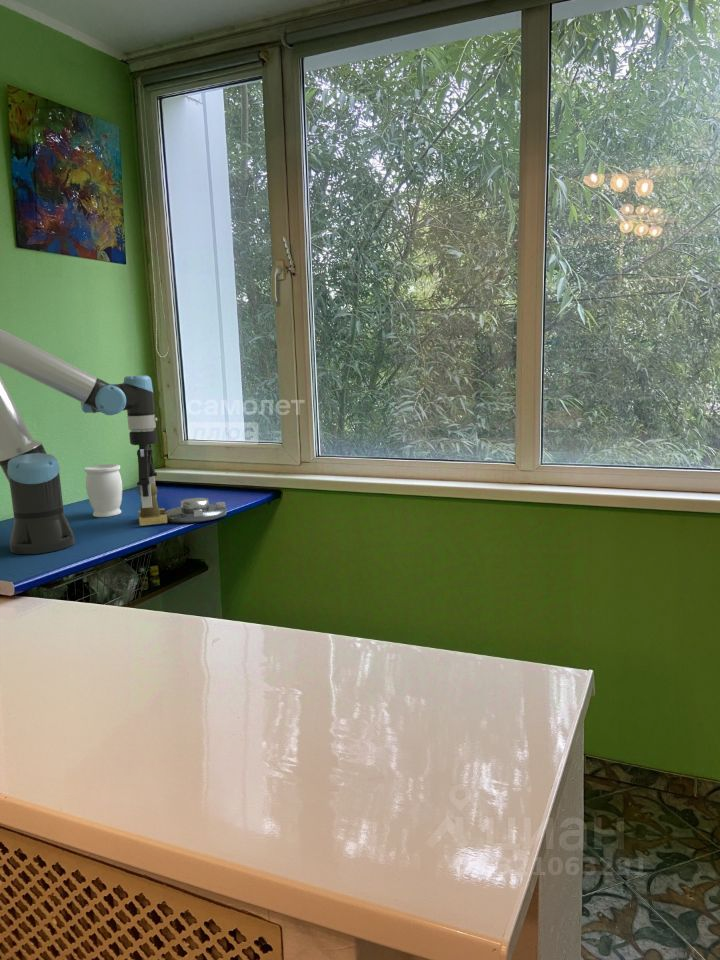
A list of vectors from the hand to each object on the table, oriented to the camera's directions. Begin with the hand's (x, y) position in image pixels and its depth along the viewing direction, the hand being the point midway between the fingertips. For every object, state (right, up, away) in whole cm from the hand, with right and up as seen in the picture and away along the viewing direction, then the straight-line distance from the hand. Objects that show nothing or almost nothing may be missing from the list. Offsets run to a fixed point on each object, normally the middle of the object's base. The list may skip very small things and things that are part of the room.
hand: (149, 502), depth 205 cm
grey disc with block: (+9, -4, +2) cm, 10 cm away
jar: (-17, -4, +12) cm, 21 cm away
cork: (0, -6, 0) cm, 6 cm away
